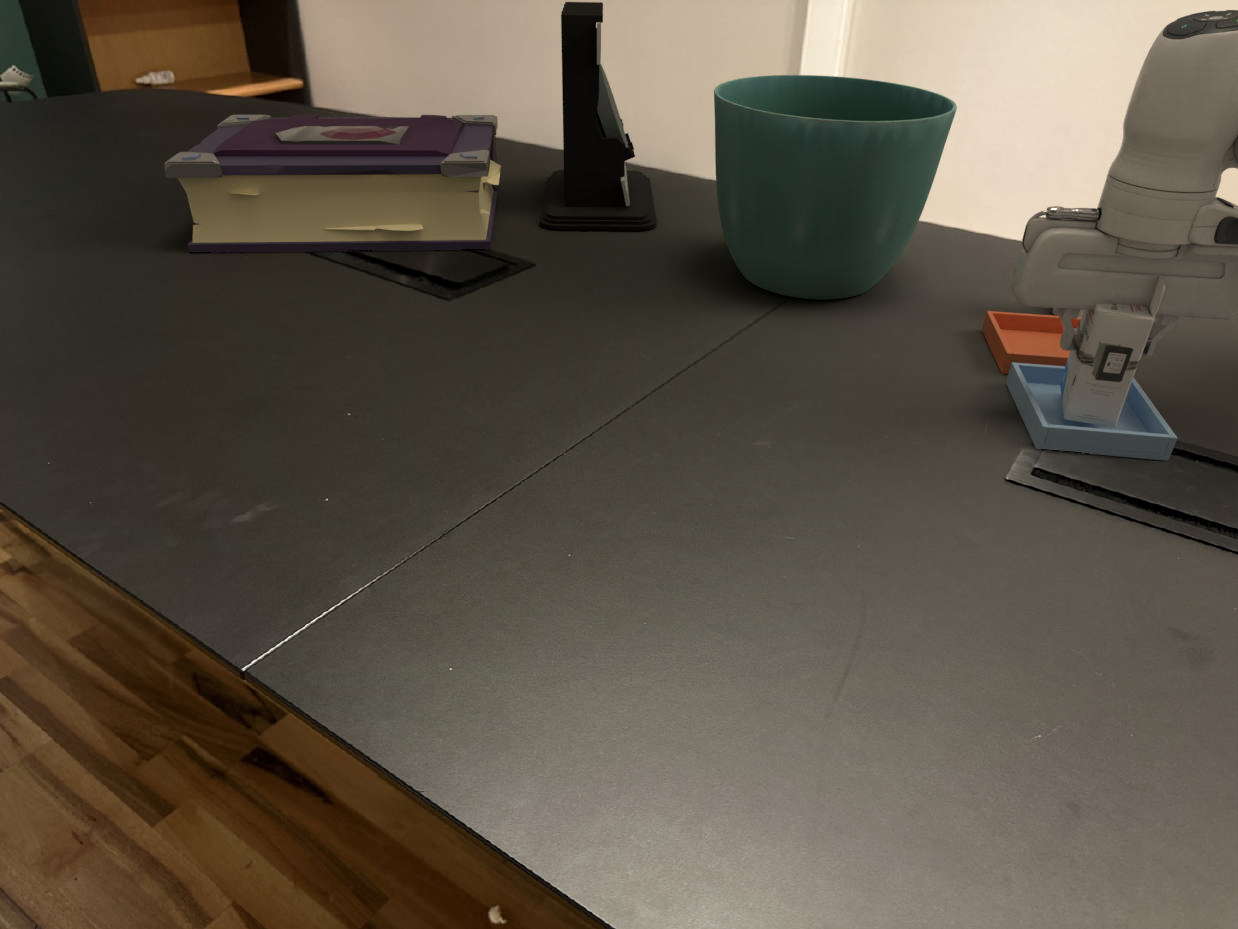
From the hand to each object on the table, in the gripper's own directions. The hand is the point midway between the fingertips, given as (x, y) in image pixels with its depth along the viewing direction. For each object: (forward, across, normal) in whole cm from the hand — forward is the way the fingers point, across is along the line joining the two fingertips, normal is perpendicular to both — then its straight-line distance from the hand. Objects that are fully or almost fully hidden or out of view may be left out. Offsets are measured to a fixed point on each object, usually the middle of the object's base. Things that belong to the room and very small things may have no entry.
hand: (1104, 351), depth 89 cm
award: (+8, -62, +65) cm, 90 cm away
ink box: (+6, 0, 0) cm, 6 cm away
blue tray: (+8, 0, 0) cm, 8 cm away
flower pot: (+8, -27, +36) cm, 46 cm away
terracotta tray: (+8, 0, +16) cm, 17 cm away
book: (+8, -98, +49) cm, 110 cm away
